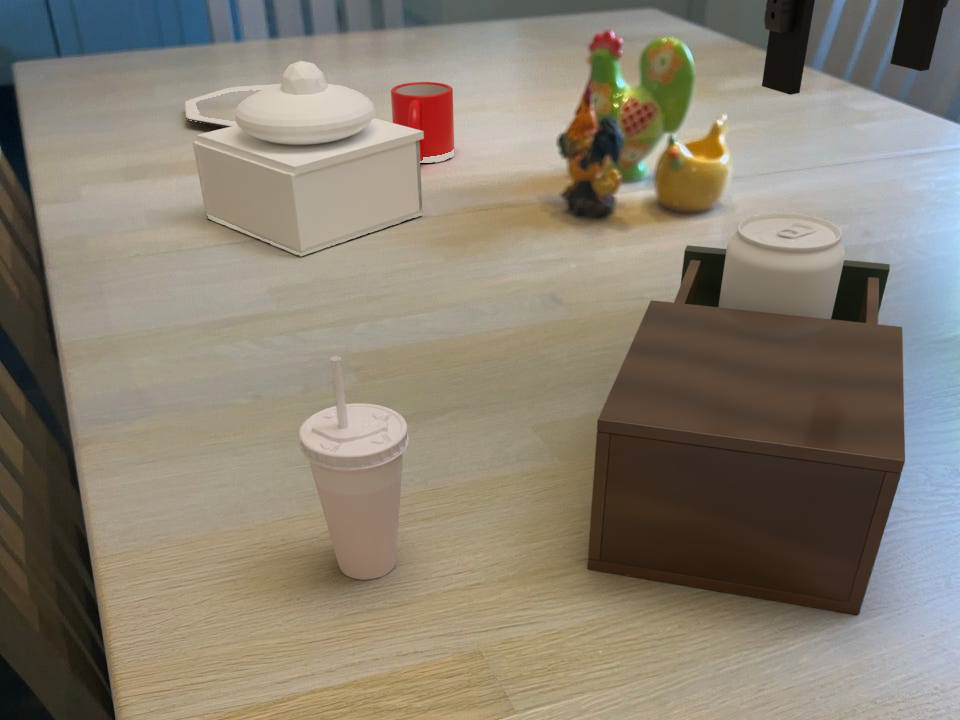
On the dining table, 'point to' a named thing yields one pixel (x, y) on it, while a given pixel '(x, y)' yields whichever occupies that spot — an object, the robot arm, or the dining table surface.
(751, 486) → the cabinet
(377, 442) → the smoothie
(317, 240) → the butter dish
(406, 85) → the mug
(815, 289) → the beverage can
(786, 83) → the robot arm
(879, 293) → the drawer
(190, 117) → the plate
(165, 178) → the dining table surface
